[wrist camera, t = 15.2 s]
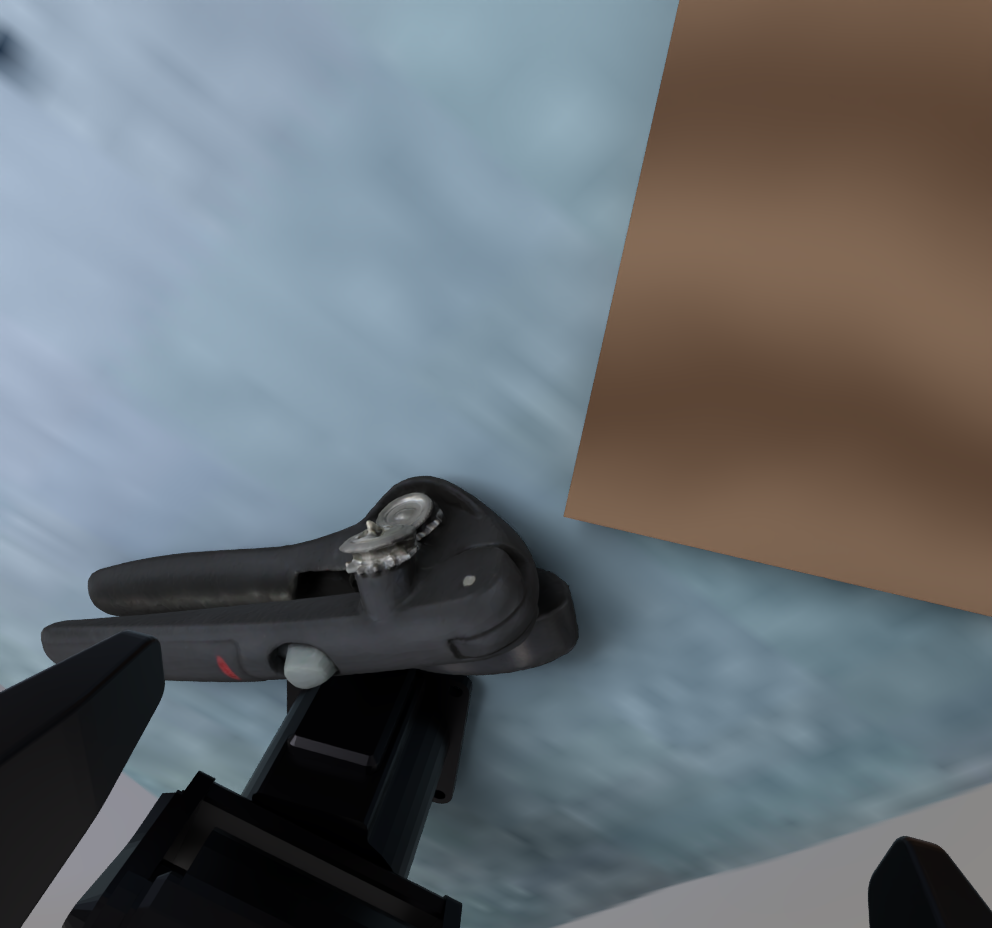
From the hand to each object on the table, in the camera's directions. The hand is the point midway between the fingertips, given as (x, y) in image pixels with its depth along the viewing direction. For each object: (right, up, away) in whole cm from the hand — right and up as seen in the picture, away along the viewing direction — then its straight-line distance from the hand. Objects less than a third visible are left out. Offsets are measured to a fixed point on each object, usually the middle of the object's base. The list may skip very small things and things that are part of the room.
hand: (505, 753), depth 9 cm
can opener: (-6, 0, +16) cm, 18 cm away
